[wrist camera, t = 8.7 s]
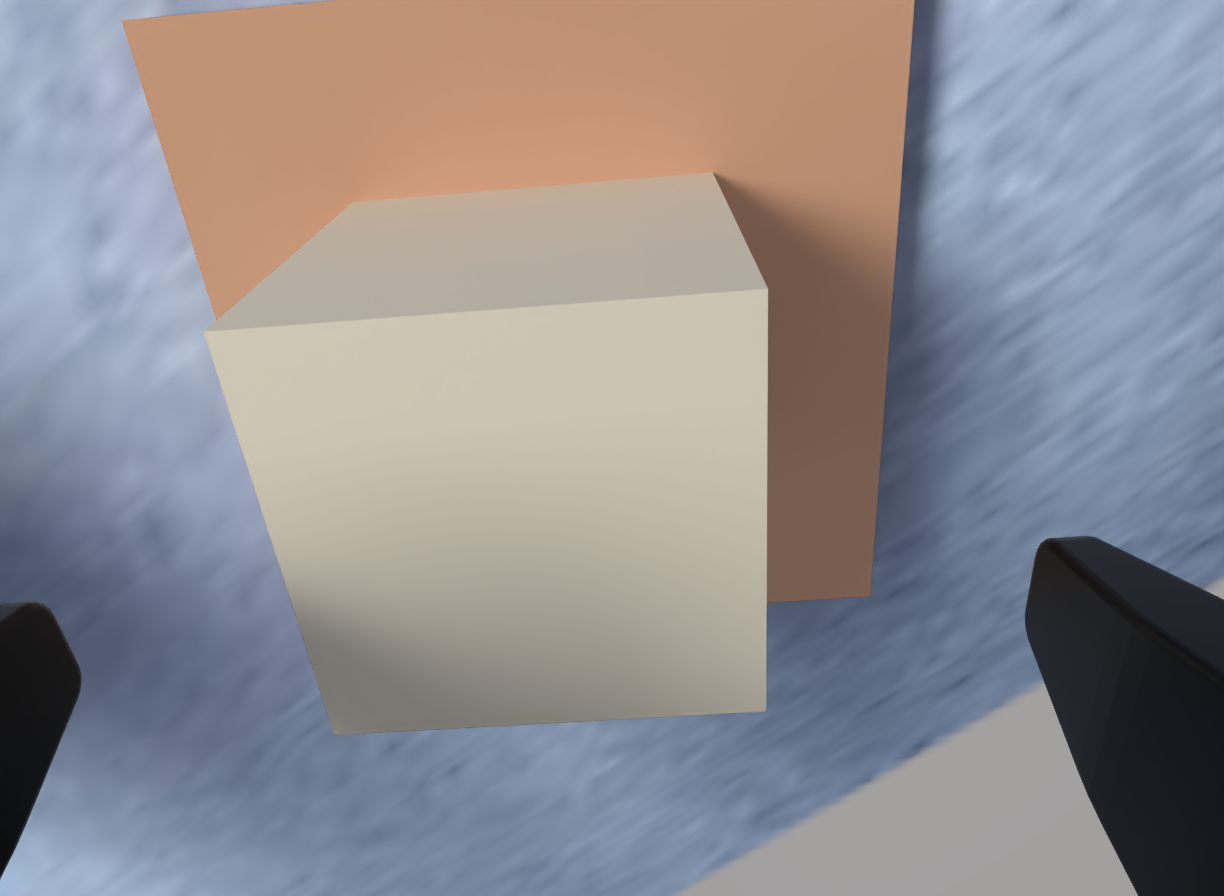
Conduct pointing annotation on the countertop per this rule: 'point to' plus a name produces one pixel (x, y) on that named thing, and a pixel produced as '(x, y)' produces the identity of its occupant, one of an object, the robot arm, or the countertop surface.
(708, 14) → the terracotta tile
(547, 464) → the cream letter cube
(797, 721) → the countertop surface
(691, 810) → the countertop surface
